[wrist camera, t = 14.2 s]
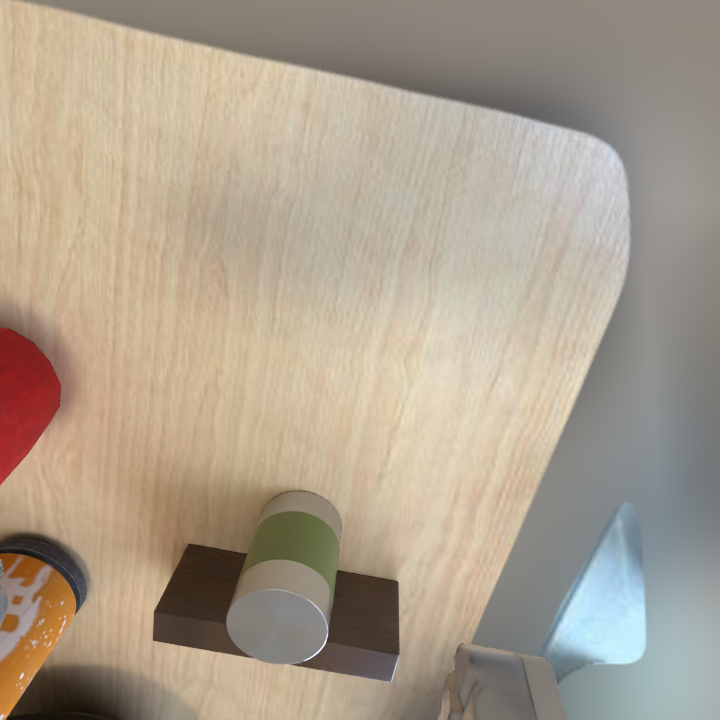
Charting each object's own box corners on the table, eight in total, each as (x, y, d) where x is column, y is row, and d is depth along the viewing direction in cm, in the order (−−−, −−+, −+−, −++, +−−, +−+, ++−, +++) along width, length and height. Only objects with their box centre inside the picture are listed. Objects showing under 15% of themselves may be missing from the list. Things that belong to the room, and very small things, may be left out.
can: (324, 480, 41) (305, 578, 32) (354, 546, 44) (344, 654, 34) (247, 502, 43) (207, 601, 33) (279, 564, 45) (250, 674, 36)
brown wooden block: (398, 581, 45) (399, 655, 38) (386, 627, 47) (385, 705, 41) (188, 543, 45) (153, 611, 38) (184, 592, 47) (151, 664, 40)
